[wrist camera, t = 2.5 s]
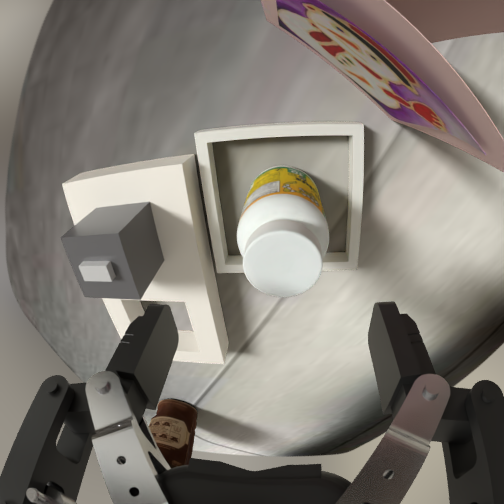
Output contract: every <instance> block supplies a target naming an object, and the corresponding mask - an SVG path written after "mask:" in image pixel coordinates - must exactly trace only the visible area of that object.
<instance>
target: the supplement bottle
mask: <svg viewBox="0 0 504 504" xmlns="http://www.w3.org/2000/svg"><path fill="white" fill-rule="evenodd" d="M237 243H238V247H239V250H240V253H241V255H242V257H243V269H244V273H245V275H246V277H247V279H248V281H249V282H250V283H251V284H252V285H253V286H254V287H255V288H256V289H257V290H259V291H260V292H262V293H265V294H267V295H270V296H274V297H292V296H296V295H299V294H302V293H304V292H306V291H307V290H309V289H310V288H311V287H312V286H313V285H314V284H315V283H316V282H317V281H318V279H319V277H320V275H321V272H322V267H323V260H322V259H323V258H324V256H325V254H326V252H327V249H328V245H329V229H328V224H327V221H326V217H325V213H324V210H323V207H322V203H321V200H320V196H319V193H318V190H317V187H316V185H315V183H314V182H313V180H312V179H311V178H310V177H309V176H308V175H307V174H306V173H305V172H303V171H301V170H299V169H296V168H294V167H290V166H284V165H280V166H274V167H271V168H268V169H266V170H265V171H263V172H262V173H260V174H259V175H258V176H257V177H256V178H255V180H254V181H253V183H252V184H251V187H250V189H249V192H248V195H247V198H246V201H245V204H244V208H243V211H242V214H241V217H240V221H239V224H238V229H237Z"/></svg>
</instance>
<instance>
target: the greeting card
mask: <svg viewBox="0 0 504 504" xmlns="http://www.w3.org/2000/svg"><path fill="white" fill-rule="evenodd" d="M261 3H262V6H263V9H264V13H265V16H266V19H267V21H268V22H270V23H272V24H273V25H275V26H276V27H278V28H279V29H281V30H282V31H284V32H285V33H287V34H288V35H290V36H291V37H293V38H294V39H296V40H297V41H299V42H300V43H301V44H303V45H304V46H306V47H307V48H308V49H310V50H311V51H312V52H314V53H315V54H316V55H318V56H319V57H320V58H322V59H323V60H324V61H326V62H327V63H328V64H329V65H331V66H332V67H333V68H334V69H336V70H337V71H338V72H339V73H340V74H342V75H343V76H344V77H345V78H346V79H348V80H349V81H350V82H351V83H352V84H354V85H355V86H356V87H357V88H358V89H359V90H360V91H361V92H363V93H364V94H365V95H366V96H367V97H368V98H369V99H370V100H371V101H372V102H373V103H375V104H376V105H377V106H378V107H379V108H380V109H381V110H382V111H383V112H384V113H385V114H386V115H387V116H388V117H389V118H390V119H391V120H393V121H396V122H398V123H401V124H404V125H406V126H409V127H411V128H414V129H416V130H419V131H421V132H423V133H426V134H428V135H430V136H433V137H435V138H437V139H440V140H442V141H444V142H446V143H448V144H450V145H453V146H455V147H457V148H459V149H461V150H463V151H465V152H467V153H469V154H471V155H473V156H475V157H477V158H479V159H480V160H482V161H484V162H486V163H488V164H490V165H492V166H493V167H495V168H497V169H499V170H500V171H502V172H504V139H503V137H502V136H501V134H500V132H499V131H498V129H497V127H496V126H495V124H494V123H493V121H492V120H491V118H490V117H489V115H488V114H487V112H486V111H485V109H484V108H483V106H482V105H481V103H480V102H479V101H478V99H477V98H476V96H475V95H474V94H473V92H472V91H471V90H470V88H469V87H468V86H467V85H466V83H465V82H464V81H463V79H462V78H461V77H460V76H459V74H458V73H457V72H456V71H455V70H454V68H453V67H452V66H451V65H450V64H449V63H448V61H447V60H446V59H445V58H444V57H443V56H442V55H441V53H440V52H439V51H438V50H437V49H436V48H435V47H434V46H433V45H432V44H431V43H434V42H439V41H444V40H449V39H455V38H461V37H467V36H474V35H481V34H490V33H499V32H504V0H261Z"/></svg>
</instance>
